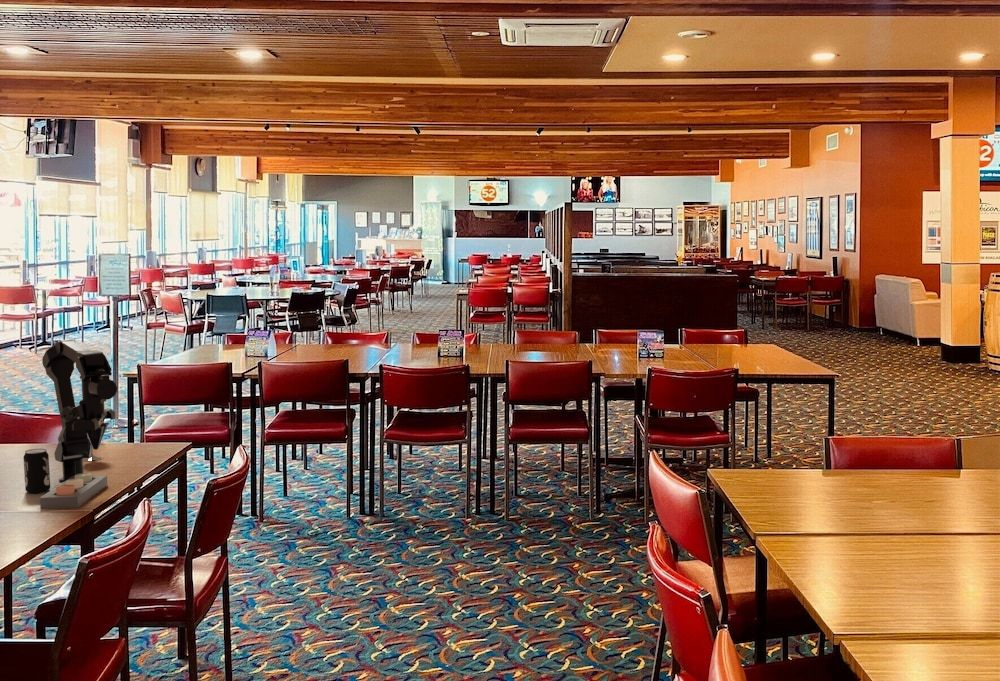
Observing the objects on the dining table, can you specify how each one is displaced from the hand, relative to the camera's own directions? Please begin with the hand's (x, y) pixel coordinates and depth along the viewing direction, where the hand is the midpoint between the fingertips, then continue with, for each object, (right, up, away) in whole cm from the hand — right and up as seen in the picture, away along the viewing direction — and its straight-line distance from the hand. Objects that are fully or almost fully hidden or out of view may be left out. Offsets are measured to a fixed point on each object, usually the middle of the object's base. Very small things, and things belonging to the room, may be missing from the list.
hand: (95, 449), depth 297 cm
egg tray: (-4, -13, -6) cm, 14 cm away
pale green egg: (-4, -12, +1) cm, 12 cm away
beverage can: (-17, -12, +1) cm, 21 cm away
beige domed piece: (-4, -13, -6) cm, 14 cm away
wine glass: (-18, -8, +42) cm, 47 cm away
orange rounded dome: (-3, -13, -13) cm, 19 cm away
